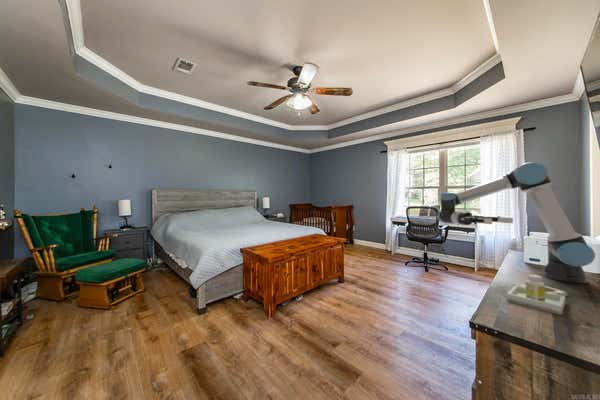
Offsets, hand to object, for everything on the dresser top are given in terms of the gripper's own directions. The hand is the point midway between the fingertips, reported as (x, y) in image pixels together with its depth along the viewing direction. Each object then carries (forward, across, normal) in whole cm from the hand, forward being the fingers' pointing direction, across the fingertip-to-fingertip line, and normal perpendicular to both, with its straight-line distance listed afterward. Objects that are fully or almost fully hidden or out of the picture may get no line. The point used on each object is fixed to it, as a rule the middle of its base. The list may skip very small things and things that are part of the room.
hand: (502, 221), depth 112 cm
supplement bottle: (+18, +8, -31) cm, 37 cm away
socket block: (+11, -8, -32) cm, 35 cm away
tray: (+18, +8, -32) cm, 37 cm away
